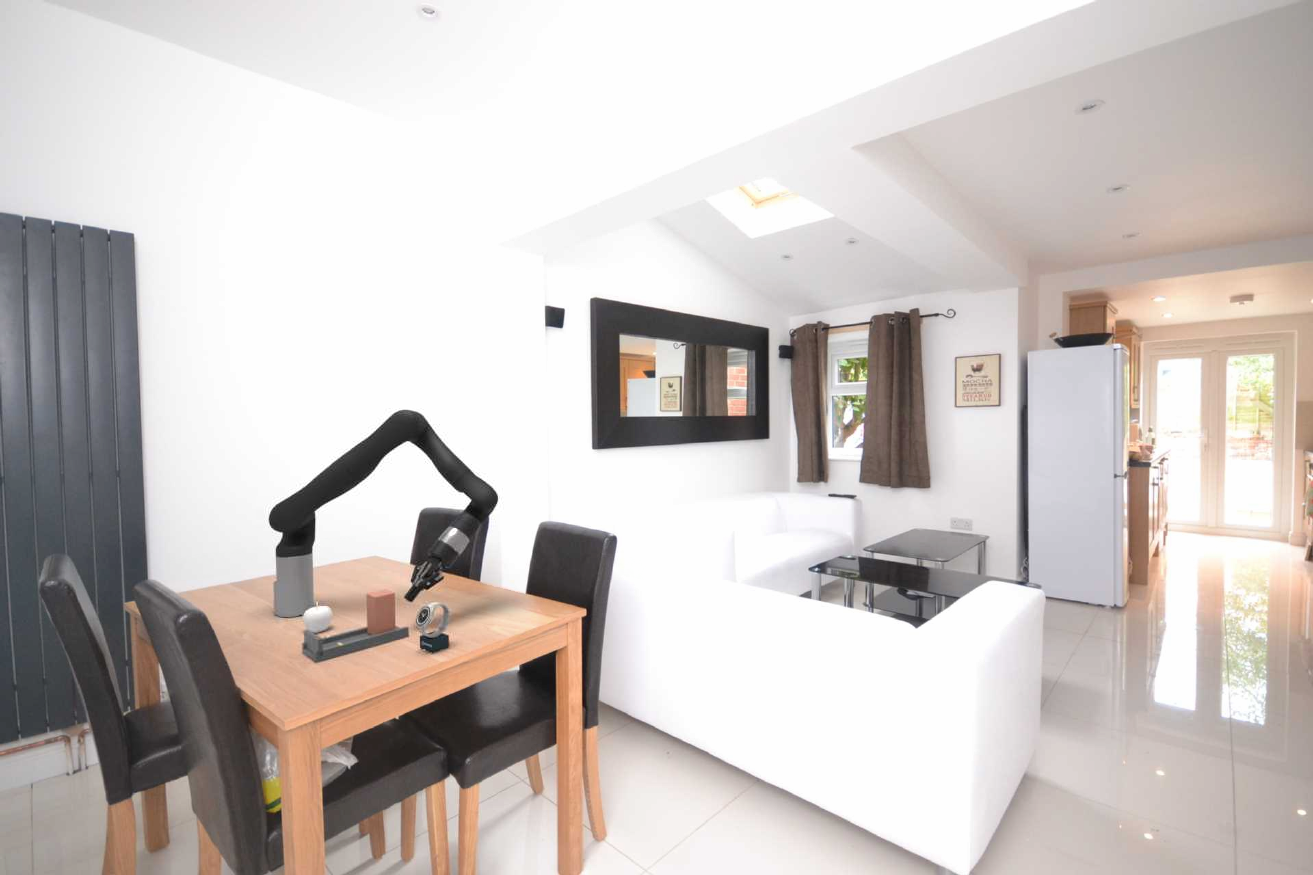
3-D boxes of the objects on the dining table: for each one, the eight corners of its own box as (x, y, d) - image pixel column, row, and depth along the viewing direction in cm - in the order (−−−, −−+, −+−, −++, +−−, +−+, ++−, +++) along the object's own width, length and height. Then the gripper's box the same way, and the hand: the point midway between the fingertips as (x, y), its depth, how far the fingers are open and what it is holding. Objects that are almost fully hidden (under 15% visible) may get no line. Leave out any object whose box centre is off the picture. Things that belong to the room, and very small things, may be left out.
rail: (392, 628, 160) (392, 609, 160) (409, 636, 154) (408, 616, 154) (301, 652, 144) (301, 631, 144) (316, 662, 138) (315, 640, 138)
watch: (412, 651, 144) (411, 605, 144) (441, 640, 151) (440, 597, 151) (426, 656, 141) (425, 609, 141) (455, 645, 148) (454, 601, 148)
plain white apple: (299, 636, 155) (298, 606, 155) (307, 627, 162) (306, 598, 162) (329, 633, 157) (328, 603, 157) (335, 624, 164) (335, 595, 164)
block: (386, 627, 157) (386, 589, 157) (395, 631, 154) (394, 592, 154) (367, 632, 153) (366, 593, 153) (375, 636, 150) (374, 597, 150)
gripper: (428, 536, 170) (385, 588, 161) (452, 541, 161) (409, 597, 152) (445, 551, 174) (405, 603, 165) (470, 557, 165) (429, 612, 156)
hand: (407, 600), depth 159 cm, fingers closed
